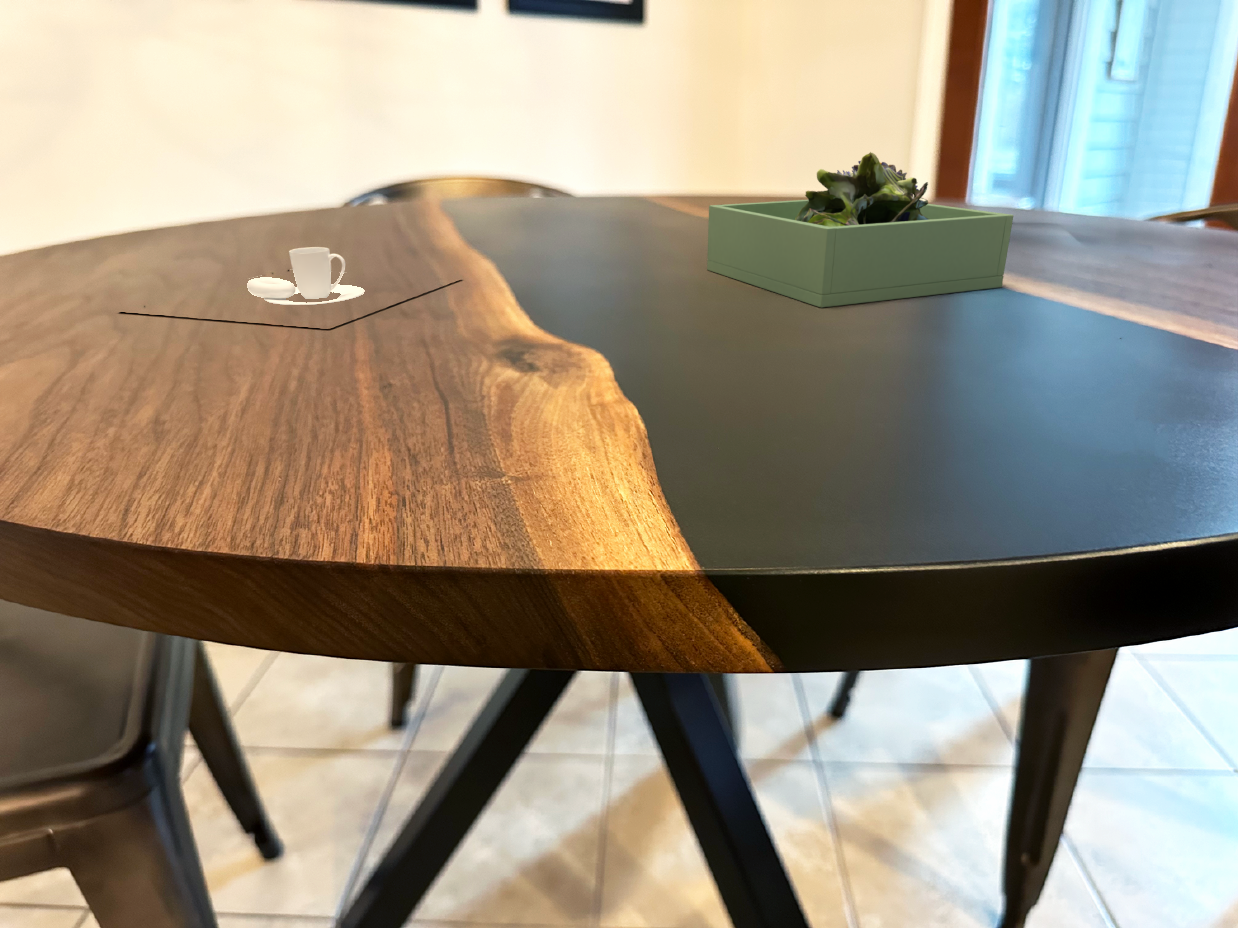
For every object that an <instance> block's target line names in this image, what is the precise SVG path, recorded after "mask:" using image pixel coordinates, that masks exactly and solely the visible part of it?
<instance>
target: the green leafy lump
mask: <svg viewBox="0 0 1238 928" xmlns="http://www.w3.org/2000/svg"><path fill="white" fill-rule="evenodd" d="M857 163H858V164H854V165H853V166H851V169H852V170H851V171H849V170H848V171H845V170H844V169H842V172H841V171H840V170H839V169H837V170H836V171H837V172H830V171H827V170H826V169H823V168H819V169H818V170H817V172H816V179H817V181H818V182H819V183H820V185H822V186H823V187H824V188H826V190H818V191H816V190H805V194H804V196H805V198H807V200H809V202H808V203H807V204H806V205H805V206H804V207H803V208H802V209H801V211H800V212H799V213H798V215H797V216H796V219H795V220H796V221H802V222H807V223H812V224H817V225H823V226H828V227H835V226H849V225H863V224H876V223H890V222H904V221H917V220H929V219H928V218H926V217H925V216H923V215H922V214H921V212H920V208H922V207H923V206H926V205H927V204H929V200H927V199H926V198H924V197H923V196H924V195H925V194H926V192H927V190H928V186H929V182H928V181H927V182H925V183H923V185H922V186H921V188H918V185H917V184H918V180H917V178H916V177H909V178H906V176H907V174H908V172H903V170H902V169H899V170H898V171H897V167H896V165H895V164H888V163H886V162H885V161H880V159H879V158H878V156H877V155H876V154H875V153H873V152H871V151H870V152H869V153H866V154H864V155H863V156H862V157H861V160H858V161H857Z"/></svg>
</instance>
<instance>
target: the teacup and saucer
mask: <svg viewBox="0 0 1238 928" xmlns="http://www.w3.org/2000/svg"><path fill="white" fill-rule="evenodd" d="M330 252H331V251H330V248H329V247H323V246H322V247H321V246H312V247H310V246H309V247H299V248H293V249H290V250H288V255H289V259H290V264H291V270H293V273H294V277H295V281H296V284H297V287H295V286H294V284H293V283H291V282H290V281H287V280H283V279H280V278H272V277H260V278H254V277H253V278H254V279H251V280H249V281H248V283H247V288H248V291H249V292H250V293H251V294H252V295H254V296H257V297H261V298H264V300H265V301H267V302H269V303H273V304H280V305H317V304H327V303H334V302H340V301H345V300H349V299H353V298H356V297H359V296H361V295H363V294H364V292H365V290H364V289H363V288H361V287H357V286H352V285H340V284H338V283H339V282H340V280H341V278H342V276H343V274H344V273H345V270H346V261H345V258H344V257H343V256H341V255H340V254H338V253H330ZM334 258H337V259H338V260H340V262H341V271H340V272H339V273H340V276H339V278H338V279H337V281H336V282H335V283H334V284H331V272H332V263H331V262H332V260H333V259H334ZM330 292H332V293H333V292H334V293H340V294H341V295H340V296H339V297H338V298H337V299H333V300H329V301H322V302H307V303H306V302H293V301H289V300H286V298H289V297H291V296H293V295H294V294H298V293H301V295H302V296H303V297H304V298H305V299H319V298H327V297H328V296H329V294H330Z"/></svg>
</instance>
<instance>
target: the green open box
mask: <svg viewBox="0 0 1238 928" xmlns="http://www.w3.org/2000/svg"><path fill="white" fill-rule="evenodd" d="M808 202H809V200H808V199H797V200H796V199H795V200H783V201H782V200H777V201H761V202H760V201H759V202H745V203H729V204H728V203H727V204H711V205H708V224H707V228H708V229H707V260H706V261H707V262H706V264H707V265H706V270H707V271H710V272H713V273H716V274H717V275H718V274H719V275H721V276H725V277H728V278H731V279H733V280H737V281H739V282H743V283H745V284H749V285H751V286H755V287H757V288H761V289H763V290H767V291H770V292H773V293H776V294H779V295H780V296H781V295H782V296H783V297H787V298H791V299H793V300H797V301H799V302H802V303H805V304H808V305H811V306H814V307H817V308H821V309H823V308H831V307H839V306H847V305H856V304H858V305H859V304H865V303H866V304H867V303H875V302H884V301H892V300H901V299H910V298H918V297H919V298H920V297H928V296H936V295H944V294H953V293H963V292H970V291H971V292H972V291H979V290H989V289H998V288H1002V287H1003V282H1004V277H1005V275H1004V274H1005V269H1006V263H1007V258H1008V252H1009V245H1010V240H1011V233H1012V227H1013V222H1014V214H1010V213H1003V212H994V211H987V210H979V209H971V208H964V207H957V206H949V205H943V204H942V205H941V204H933V203H928V204H927V205H926V206H923V207H922V208H920V212H921V214H922V215H923V216H925V217H926V218H928V219H929V220H917V221H904V222H890V223H876V224H863V225H849V226H835V227H828V226H823V225H817V224H812V223H807V222H802V221H796V220H795V219H796V216H797V215H798V213H799V212H800V211H801V209H802V208H803V207H804V206H805V205H806V204H807V203H808Z"/></svg>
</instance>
